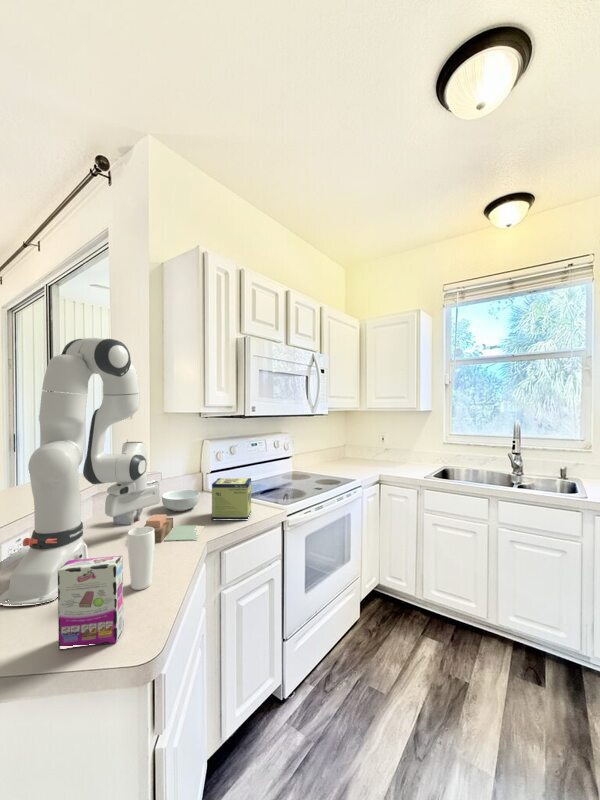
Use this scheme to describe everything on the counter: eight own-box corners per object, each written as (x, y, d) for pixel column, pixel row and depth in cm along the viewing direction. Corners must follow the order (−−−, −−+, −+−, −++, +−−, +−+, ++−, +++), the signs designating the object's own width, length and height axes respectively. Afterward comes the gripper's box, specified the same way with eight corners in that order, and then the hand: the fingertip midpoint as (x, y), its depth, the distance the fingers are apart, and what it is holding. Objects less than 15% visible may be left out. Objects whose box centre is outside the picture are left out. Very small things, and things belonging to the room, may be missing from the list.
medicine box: (137, 521, 145) (137, 500, 145) (131, 525, 141) (131, 503, 141) (119, 520, 146) (119, 500, 146) (112, 524, 141) (112, 503, 141)
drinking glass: (147, 576, 100) (147, 524, 100) (159, 584, 95) (159, 529, 95) (123, 586, 94) (122, 531, 94) (134, 595, 90) (134, 537, 90)
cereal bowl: (184, 516, 150) (184, 500, 150) (153, 512, 156) (153, 497, 156) (207, 505, 167) (207, 490, 167) (178, 502, 172) (178, 487, 172)
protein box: (248, 520, 145) (248, 483, 145) (211, 520, 145) (211, 483, 145) (251, 512, 156) (251, 477, 156) (217, 512, 156) (217, 478, 156)
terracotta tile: (160, 527, 127) (160, 520, 127) (146, 527, 127) (146, 521, 127) (166, 520, 134) (166, 514, 134) (153, 521, 134) (153, 514, 134)
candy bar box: (124, 628, 77) (124, 554, 77) (116, 643, 72) (116, 564, 72) (68, 634, 75) (68, 558, 75) (57, 651, 70) (56, 570, 70)
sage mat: (196, 540, 125) (196, 539, 125) (164, 541, 125) (164, 540, 125) (205, 526, 139) (205, 525, 139) (175, 526, 138) (175, 525, 138)
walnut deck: (161, 542, 123) (161, 531, 123) (138, 543, 123) (137, 531, 123) (173, 527, 137) (173, 517, 137) (152, 528, 137) (152, 518, 137)
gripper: (154, 478, 140) (154, 512, 140) (102, 489, 123) (102, 528, 123) (163, 480, 137) (164, 515, 137) (112, 492, 120) (112, 532, 120)
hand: (134, 521), depth 130 cm, fingers closed
